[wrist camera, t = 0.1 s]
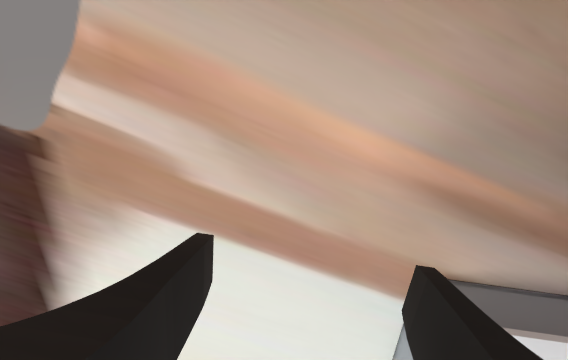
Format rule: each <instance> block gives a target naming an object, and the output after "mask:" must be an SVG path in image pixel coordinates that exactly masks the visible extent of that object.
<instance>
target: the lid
mask: <svg viewBox="0 0 568 360" xmlns="http://www.w3.org/2000/svg"><path fill="white" fill-rule="evenodd" d="M503 329H504V330H506V331H507V332H508V333H509V334H510V335H512V336H513V337H514V338H515V339H517V340H518V341H519V342H521V343H522V344H523V345H524V346H526V347H527V348H528V349H530V350H531V351H533V352H534V353H535V354H537V355H538V356H539V357H541V358H542V359H544V360H568V337H565V336H558V335H551V334H544V333H537V332H530V331H523V330H516V329H509V328H503Z"/></svg>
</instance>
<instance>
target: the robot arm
mask: <svg viewBox="0 0 568 360" xmlns="http://www.w3.org/2000/svg"><path fill="white" fill-rule="evenodd" d="M213 240H214V235H209V234H202V233H196V234H194V235H193V236H191V237H190V238H188V239H187V240H186V241H184V242H183V243H181V244H180V245H178V246H177V247H175V248H174V249H172V250H171V251H169V252H168V253H166V254H165V255H163V256H162V257H160V258H159V259H157V260H156V261H154V262H152V263H151V264H149V265H147V266H146V267H144V268H142V269H141V270H139V271H137V272H135V273H134V274H132V275H130V276H129V277H127V278H125V279H123V280H121V281H119V282H117V283H115V284H113V285H111V286H109V287H107V288H105V289H103V290H101V291H98V292H96V293H94V294H92V295H89V296H87V297H84V298H82V299H79V300H77V301H74V302H72V303H70V304H67V305H65V306H62V307H60V308H57V309H54V310H51V311H48V312H46V313H43V314H40V315H37V316H34V317H31V318H28V319H24V320H21V321H18V322H15V323H11V324H8V325H5V326H1V327H0V360H177V358H178V356H179V354H180V352H181V350H182V348H183V346H184V344H185V343H186V341H187V339H188V337H189V335H190V333H191V331H192V329H193V327H194V325H195V323H196V320H197V318H198V316H199V314H200V312H201V310H202V308H203V306H204V303H205V301H206V298H207V295H208V292H209V289H210V286H211V283H212V274H213ZM402 315H403V321H404V327H405V332H406V337H407V341H408V344H409V348H410V351H411V354H412V357H413V360H544V359H542V358H541V357H539V356H538V355H537V354H535V353H534V352H533V351H531V350H530V349H528V348H527V347H526V346H524V345H523V344H522V343H521V342H519V341H518V340H517V339H515V338H514V337H513V336H512V335H510V334H509V333H508V332H507V331H506V330H504V329H503V328H502V327H501V326H500V325H498V324H497V323H496V322H495V321H494V320H492V319H491V318H490V317H489V316H488V315H487V314H485V313H484V312H483V311H482V310H481V309H480V308H479V307H477V306H476V305H475V304H474V303H473V302H472V301H471V300H470V299H469V298H467V297H466V296H465V295H464V294H463V293H462V292H461V291H460V290H459V289H458V288H457V287H455V286H454V285H453V284H452V283H451V282H450V281H449V280H448V279H447V278H446V277H444V276H443V275H442V274H441V273H440V272H439V271H437V270H436V269H435V268H432V267H425V266H418V265H416V268H415V271H414V274H413V277H412V280H411V283H410V286H409V289H408V292H407V296H406V299H405V302H404V305H403V308H402Z"/></svg>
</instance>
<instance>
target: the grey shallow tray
mask: <svg viewBox="0 0 568 360" xmlns="http://www.w3.org/2000/svg"><path fill="white" fill-rule="evenodd" d="M449 281H450V282H451V283H452V284H453V285H454V286H455V287H457V288H458V289H459V290H460V291H461V292H462V293H463V294H464V295H465V296H466V297H467V298H469V299H470V300H471V301H472V302H473V303H474V304H475V305H476V306H477V307H479V308H480V309H481V310H482V311H483V312H484V313H485V314H487V315H488V316H489V317H490V318H491V319H492V320H494V321H495V322H496V323H497V324H498V325H500V326H501V327H502V328H509V329H516V330H523V331H530V332H537V333H544V334H551V335H558V336H565V337H568V296H564V295H557V294H550V293H542V292H535V291H528V290H520V289H513V288H506V287H498V286H491V285H484V284H476V283H469V282H462V281H454V280H449ZM393 360H413V357H412V354H411V351H410V348H409V344H408V341H407V337H406V332H405V327H404V324H403V327H402V330H401V334H400V337H399V340H398V343H397V347H396V350H395V353H394V356H393Z"/></svg>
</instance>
